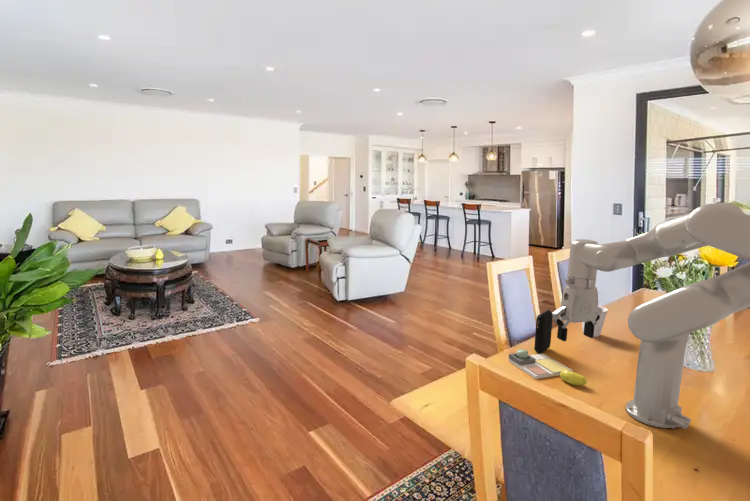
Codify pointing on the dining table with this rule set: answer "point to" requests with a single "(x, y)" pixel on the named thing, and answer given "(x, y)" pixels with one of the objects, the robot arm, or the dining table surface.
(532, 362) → the picture board
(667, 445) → the dining table surface
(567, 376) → the lemon
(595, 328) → the cup
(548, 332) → the carrying case or bag
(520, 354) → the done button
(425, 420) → the dining table surface
